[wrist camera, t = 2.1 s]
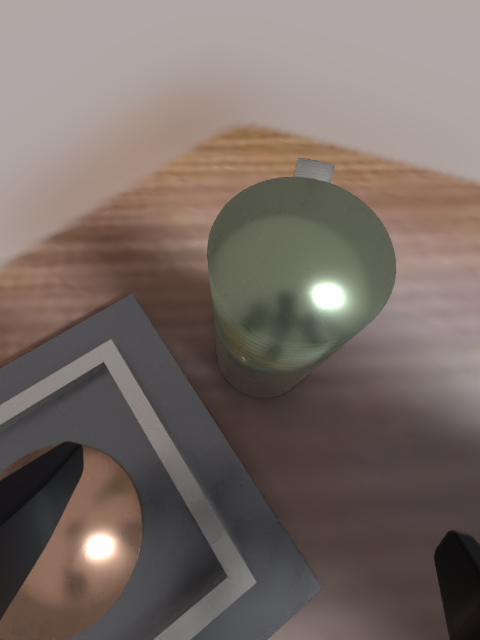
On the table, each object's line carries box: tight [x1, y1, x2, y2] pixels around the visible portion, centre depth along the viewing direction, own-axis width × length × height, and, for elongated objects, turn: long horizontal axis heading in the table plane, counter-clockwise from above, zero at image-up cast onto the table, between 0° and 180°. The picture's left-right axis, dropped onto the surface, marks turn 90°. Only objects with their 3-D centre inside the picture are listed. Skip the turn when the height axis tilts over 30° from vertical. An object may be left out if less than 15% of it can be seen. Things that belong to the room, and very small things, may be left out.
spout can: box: [207, 158, 396, 398], centre depth 17 cm, size 8×6×13 cm
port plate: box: [0, 294, 323, 640], centre depth 18 cm, size 20×20×2 cm
